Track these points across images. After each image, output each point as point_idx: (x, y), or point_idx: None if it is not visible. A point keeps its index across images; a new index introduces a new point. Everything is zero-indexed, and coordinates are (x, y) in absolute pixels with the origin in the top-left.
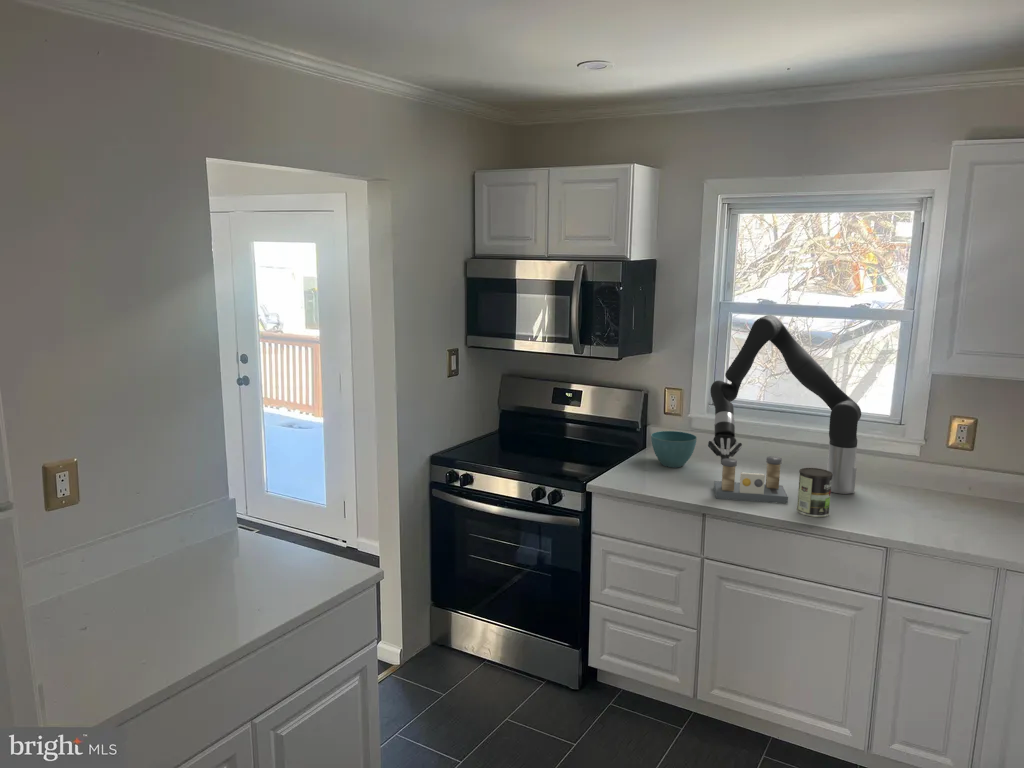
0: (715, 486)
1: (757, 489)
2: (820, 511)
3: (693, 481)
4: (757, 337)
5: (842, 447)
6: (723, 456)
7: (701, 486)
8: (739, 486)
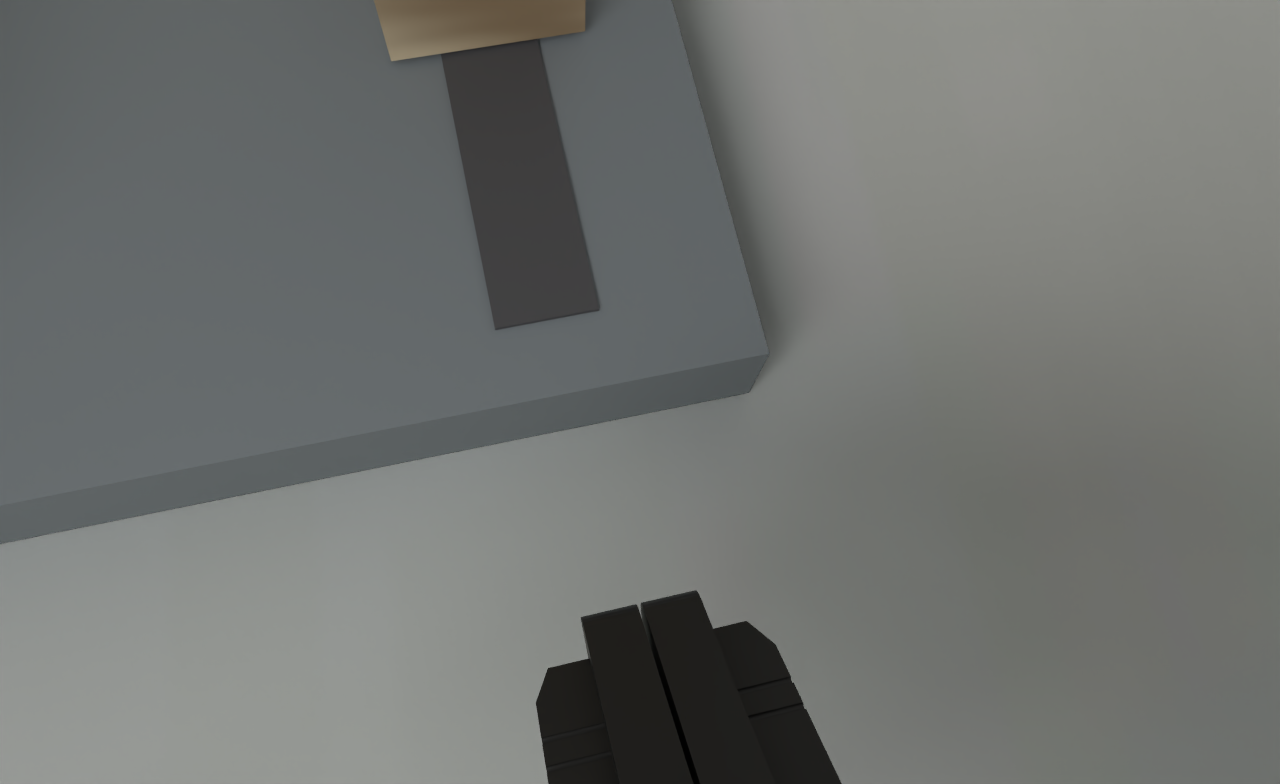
0: (689, 72)
1: None
2: None
3: (1154, 584)
4: None
5: None
6: (760, 765)
7: (948, 356)
8: (284, 201)
